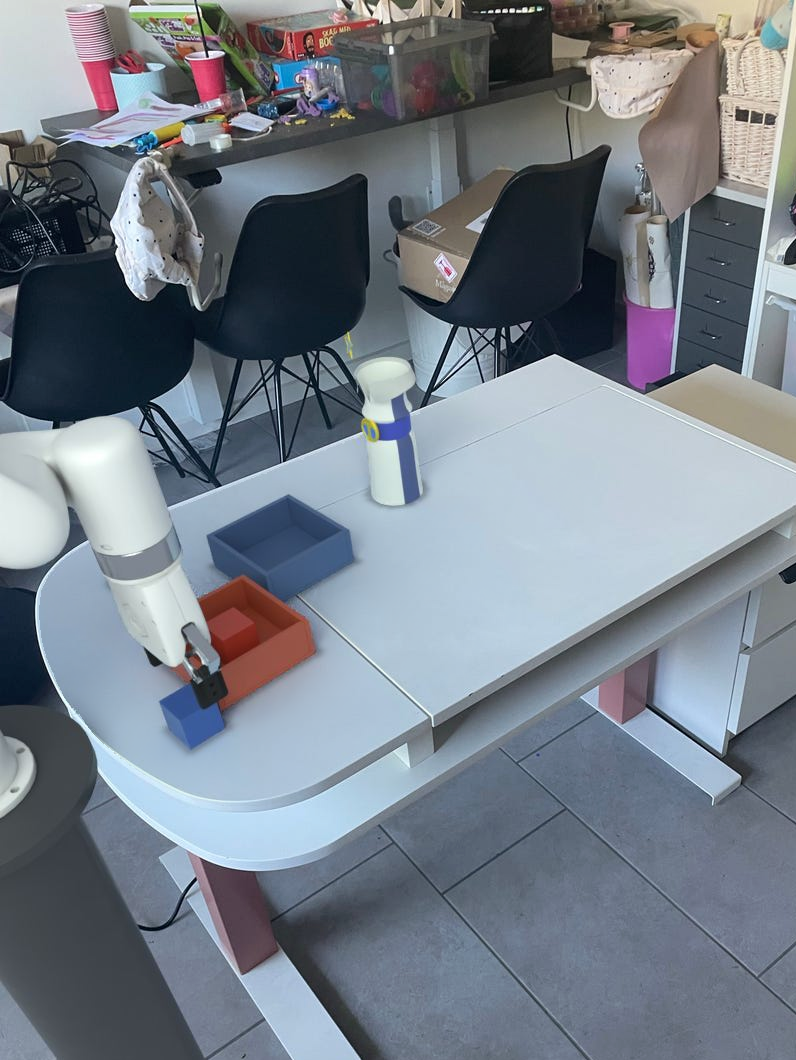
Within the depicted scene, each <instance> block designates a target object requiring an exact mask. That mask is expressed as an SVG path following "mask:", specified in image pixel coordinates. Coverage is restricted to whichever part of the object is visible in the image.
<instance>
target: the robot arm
mask: <svg viewBox="0 0 796 1060" xmlns="http://www.w3.org/2000/svg"><path fill="white" fill-rule="evenodd" d="M68 507H69V508H72V509H73V510H74V511H75V513H76V515H77V518H78V520H79V522H80V524H81V527H82V529H83V531H84V534H85V536H86V538H87V541H88V543H89V546H90V547H91V550H92V552H93V555H94V557H95V559H96V561H97V563H98V566H99V568H100V571H101V573H102V575H103V577H104V579H106V580H107V582H108V586H109V589H110V591H111V595H112V597H113V599H114V603H115V605H116V607H117V610H118V613H119V616H120V618H121V621H122V624H123V626H124V628H125V630H126V631H127V632H128V633H129V635H130V636H132V638H133V639H134V640H136V641H137V643H139V644H140V645H141V646H142V648H143V651H144V653H145V656H146V658H147V660H148V662H149V664H150V665H151V666H152V668H157V667H159V666H161V665H163V664H164V665H166V666H168V667H169V666H171V667H177V666H178V665H179V664H181V663H182V664H183V665H184V667H185V668H186V670H187V671H188V673H189V674H190V676H191V677H192V679H191V680H190V684H191V686H192V689H193V691H194V694H195V696H196V699H197V702H198V704H199V706H200V707H201V708H202V709H203V710H205V709H207V708H209V707H210V706H212V705H213V704H215V703H216V702H218V701H219V700H221V699H223V698H224V697H226V696H227V695H228V689H227V686H226V683H225V681H224V678H223V675H222V672H221V663H220V657H219V655H218V653H217V652H216V651H215V650H214V648H213V647H212V646H211V645H210V644H211V637H210V633H209V630H208V626H207V624H206V621H205V618H204V615H203V613H202V610H201V608H200V605H199V603H198V601H197V599H198V597H197V596H196V594H195V592H194V589H193V587H192V585H191V583H190V579H189V578H188V576H187V574H186V572H185V570H184V568H183V565H182V564H181V560H182V558H183V553H184V550H183V547H182V544H181V542H180V538H179V536H178V533H177V531H176V527H175V525H174V522H173V518H172V516H171V513H170V511H169V508H168V505H167V502H166V499H165V496H164V493H163V490H162V487H161V486H160V481H159V479H158V476H157V474H156V471H155V468H154V465H153V462H152V460H151V457H150V453H149V451H148V447H147V445H146V442H145V440H144V437H143V435H142V433H141V431H140V429H138V427H137V426H136V425H135V424H134V423H133V422H131V421H130V420H128V419H126V418H123V417H119V416H114V415H103V416H101V415H100V416H95V417H90V418H87V419H83V420H81V421H78V422H76V423H74V424H71V425H69V426H67V427H63V428H54V429H43V430H27V431H26V430H25V431H14V432H6V433H5V432H4V433H0V567H1V568H4V569H12V570H29V569H34V568H38V567H41V566H44V565H46V564H48V563H49V562H51V561H53V560H54V559H56V557H57V556H58V555H60V554H61V552H62V551H63V549H64V548H65V547H66V544H67V542H68V539H69V535H70V527H71V526H70V525H71V523H70V516H69V515H70V514H69V509H68ZM188 643H189V644H190V646H191V647H192V648H193V649H192V650H190V651H188V652H187V653H185V648H186V644H188ZM195 654H198V655H199V657H200V658H201V660H202V664H203V665H202V666H200V667H199V668H198V669H197V670H196V668H195V667H194V665H193V664H192V662H191V661H190V659H189V658H190V657H192V656H194V655H195ZM36 773H37V766H36V761H35V758H34V756H33V754H32V752H31V751H30V749H29V748H28V747H27V746H26V745H25V744H24V743H23V742H21V741H19V740H17V739H14V738H11V737H7V736H3V734H2V732H1V730H0V818H2V817H3V816H5V815H6V814H7V813H9V812H10V811H11V810H12V809H14V808H15V807H16V806H17V805H18V804H19V803H20V802H21V801H22V800H23V799H24V797H25V796H26V795H27V793H28V792H29V790H30V789H31V787H32V785H33V783H34V780H35V777H36Z"/></svg>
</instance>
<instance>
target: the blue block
mask: <svg viewBox="0 0 796 1060" xmlns="http://www.w3.org/2000/svg"><path fill="white" fill-rule="evenodd" d="M158 703H159V706H160V708H161V711H162V714H163V717H164V720H165V722H166V726H167V727H168V730H169V731H170V732H171V733H172V734H173V735H174V736H175V737H176V738H178V740H179V741H181V742H182V743H183V744H184V745H185V746H186V747H187V748H188V749H189V750H192V749H194V748H195V747H197V746H199V745H200V744H202V743H203V742H205V741H206V740H208V739H210V738H212V737H213V736H214V735H216V734H218V733H219V732H221V731H222V730H223V729H226V727H225V724H224V719H223V717H222V714H221V711H220V710H219V707H218V704H217V702H216V703H215V704H213V705H212V706H210V707H209V708H207V709H205V710H203V709H202V708H201V707H200V706H199V704H198V702H197V699H196V696H195V694H194V691H193V689H192V686H191V684H190V683H187V684H186V685H183V686H182V687H180V688H179V689H177V690H176V691H173V692H172V693H170V694H169V695H166V696H165V697H164V698H162V699H160V700H158Z"/></svg>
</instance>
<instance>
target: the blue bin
mask: <svg viewBox="0 0 796 1060" xmlns="http://www.w3.org/2000/svg"><path fill="white" fill-rule="evenodd" d="M205 537H206V540H207V544H208V548H209V551H210V553H211V558H212V561H213V565H214V567H215V568H216V569H218V570H219V571H220V572H222V573H223V574H225V575H226V576H228V577H229V578H230V579H232V580H234V579H235V578H237V577H239V576H241V575H245V576H246V577H248V578H249V579H251V580H252V581H254V582H255V583H256V584H258V585H259V586H261V587H262V588H264V589H265V590H266V591H268V592H269V593H271V594H272V595H274V596H275V597H277V598H278V599H279V600H281V601H282V602H284V603H285V602H286V601H288V600H289V599H291V598H293V597H295V596H297V595H298V594H300V593H301V592H304V591H305V590H307V589H308V588H310V587H313V586H314V585H316V584H317V583H318V582H321V581H322V580H324V579H326V578H328V577H329V576H331V575H333V574H335V573H336V572H338V571H340V570H342V569H343V568H345V567H347V566H349V565H351V564H352V563H354V562H355V556H354V550H353V544H352V538H351V531H350V529H349V528H347V527H345V525H342V524H341V523H339V522H337V521H335V520H333V519H332V518H331V517H329V516H328V515H325V514H324V513H322V512H321V511H318V510H316V509H315V508H314V507H312V506H310V505H308V504H306V503H305V502H303V501H301V500H300V499H298V498H296V497H295V496H293V495H291V494H290V493H287V494H286V495H284V496H282V497H280V498H277V499H275V500H274V501H272V502H269V503H267V504H266V505H263V506H261V507H260V508H258V509H256V510H254V511H252V512H250V513H247V514H246V515H243V516H242V517H240V518H237V519H236V520H234V521H232V522H229V523H228V524H226V525H224V526H222V527H220V528H217V529H216V530H213V531H212V532H211V533H208V534H206V535H205Z"/></svg>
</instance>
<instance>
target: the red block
mask: <svg viewBox="0 0 796 1060" xmlns="http://www.w3.org/2000/svg"><path fill="white" fill-rule="evenodd" d="M206 624H207V626H208V630H209V633H210V637H211V644H210V645H211V646H212V647H213V648H214V650H215V651H216V652H217V653H218V655H219V657H220V661H222V662H223V663H224V664H225V665H226V664H228V663H230V662H231V661H233V660H235V659H237V658H238V657H240V656H242V655H243V654H245V653H247V652H248V651H250V650H252V649H253V648H255V647H257V646H258V645H260V642H259V638H258V634H257V630H256V626H255V623H254V622H253V621H252V620H250V619H249V618H248V617H246V616H245V615H244V614H242V613H241V612H240V611H238V610H237V609H235V608H234V607H233V608H231V609H229V610H227V611H225V612H224V613H222V614H220V615H218V616H216V617H215V618H213V619H211V620H209V621H207V622H206Z"/></svg>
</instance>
